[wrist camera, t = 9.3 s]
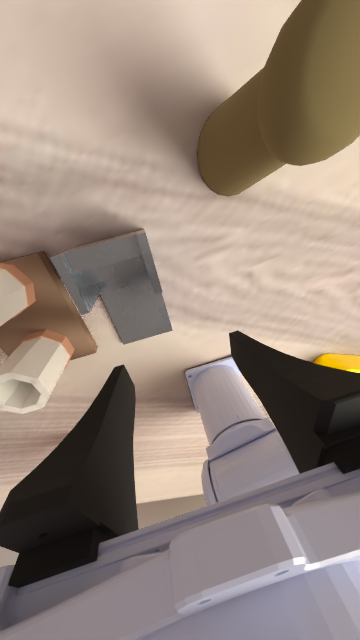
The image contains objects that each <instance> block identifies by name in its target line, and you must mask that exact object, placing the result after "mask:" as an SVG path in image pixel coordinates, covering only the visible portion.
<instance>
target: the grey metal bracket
mask: <svg viewBox="0 0 360 640" xmlns="http://www.w3.org/2000/svg"><path fill="white" fill-rule="evenodd" d="M50 259H51V261H52V263H53V265H54V266H55V268H56V270H57V272H58V274H59V275H60V277H61V279H62V281H63V283H64V284H65V286H66V288H67V290H68V291H69V293H70V295H71V297H72V299H73V300H74V302H75V304H76V306H77V308H78V309H79V311H80V313H81V315H82V314H86V313H89V312H90V311H91V309H92V307H93V305H94V304H95V302H96V300H97V298H98V297H99V295H101V297H102V300H103V302H104V304H105V306H106V308H107V310H108V312H109V314H110V317H111V319H112V321H113V323H114V325H115V327H116V329H117V331H118V334H119V336H120V338H121V340H122V342H123V344H128V343H131V342H134V341H138V340H141V339H145V338H148V337H151V336H155V335H158V334H162V333H165V332H169V331H172V327H171V324H170V320H169V317H168V313H167V310H166V306H165V303H164V300H163V296H162V293H161V292H162V289H161V285H160V282H159V278H158V275H157V272H156V268H155V265H154V261H153V258H152V254H151V251H150V247H149V244H148V240H147V237H146V233H145V230H144V229H142V230H138V231H134V232H130V233H126V234H123V235H119V236H115V237H111V238H107V239H103V240H100V241H96V242H92V243H88V244H84V245H81V246H77V247H75V248H72V249H70V250H67V251H65V252H62V253H60V254H57V255H55V256H52V257H50Z"/></svg>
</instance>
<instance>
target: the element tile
mask: <svg viewBox="0 0 360 640" xmlns="http://www.w3.org/2000/svg"><path fill="white" fill-rule="evenodd" d="M313 363H316V364H319V365H324V366H328V367H332V368H337V369H342V370H347V371H353V372H359V373H360V356H359V355H344V354H324V355H321V356H319V357H318V358H317V359H316V360H315V361H314V362H313Z"/></svg>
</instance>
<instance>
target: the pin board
mask: <svg viewBox="0 0 360 640" xmlns="http://www.w3.org/2000/svg"><path fill="white" fill-rule="evenodd" d="M1 263H4V264H11V265H14V266H15V267H17V268H18V269H19V270H20V271H21V272H22V273H23V274H25V275H26V276H27V277H28V278H29V279H30V280H31V281H33V284H34V292H35V299H36V301H35V302H34V303H33V304H31V305H30V306H29V307H27V308H26V309H25V310H24V311H22V312H21V313H20V314H18V315H17V316H16V317H14V318H11V319H10V320H8V321H7V322H6V323H4V324H3V325H2V326H0V347H1V348H2V349H3V351H4V352H5V353H6V354H7V355H8V356H10V355H11V354H12V353H13V352H14V351H15V349H16V348H17V347H18V346H19V345H20V344H21V342H22V341H23V340H24V339H25V338H26V337H27V336H28V335H29V334H32V333H36V332H39V331H43V330H50V331H53V332H56V333H58V334H61V335H64V336H66V337H67V338H68V340H69V342H70V343H71V345H72V346H73V348H74V349H75V350H74V352H73V354H72V356H71V358H70V360H73V359H76V358H80V357H83V356H87V355H90V354H93V353H96V350H97V347H98V346H97V345H96V343H95V341H94V339H93V337H92V336H91V334H90V332H89V330H88V329H87V327H86V325H85V323H84V321H83V320H82V318H81V316H80V314H79V313H78V311H77V309H76V307H75V305H74V304H73V302H72V300H71V298H70V297H69V295H68V293H67V291H66V289H65V288H64V286H63V284H62V282H61V281H60V279H59V277H58V275H57V273H56V272H55V270H54V268H53V266H52V265H51V263H50V261H49V259H48V257H47V256H46V254H45V252H44V251H43V252H39V253H35V254H31V255H27V256H24V257H20V258H16V259H12V260H8V261H4V262H1Z"/></svg>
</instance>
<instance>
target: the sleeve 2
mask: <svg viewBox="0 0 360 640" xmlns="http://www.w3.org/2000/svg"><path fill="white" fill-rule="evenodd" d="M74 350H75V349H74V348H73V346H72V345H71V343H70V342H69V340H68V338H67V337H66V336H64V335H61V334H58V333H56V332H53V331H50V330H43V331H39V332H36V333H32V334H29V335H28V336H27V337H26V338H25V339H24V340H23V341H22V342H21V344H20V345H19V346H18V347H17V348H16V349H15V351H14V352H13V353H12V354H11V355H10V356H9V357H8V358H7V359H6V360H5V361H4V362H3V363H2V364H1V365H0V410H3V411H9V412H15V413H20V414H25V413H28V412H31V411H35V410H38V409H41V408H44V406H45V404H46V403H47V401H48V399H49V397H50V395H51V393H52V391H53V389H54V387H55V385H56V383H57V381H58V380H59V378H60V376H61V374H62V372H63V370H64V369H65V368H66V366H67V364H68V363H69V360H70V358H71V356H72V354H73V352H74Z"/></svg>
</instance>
